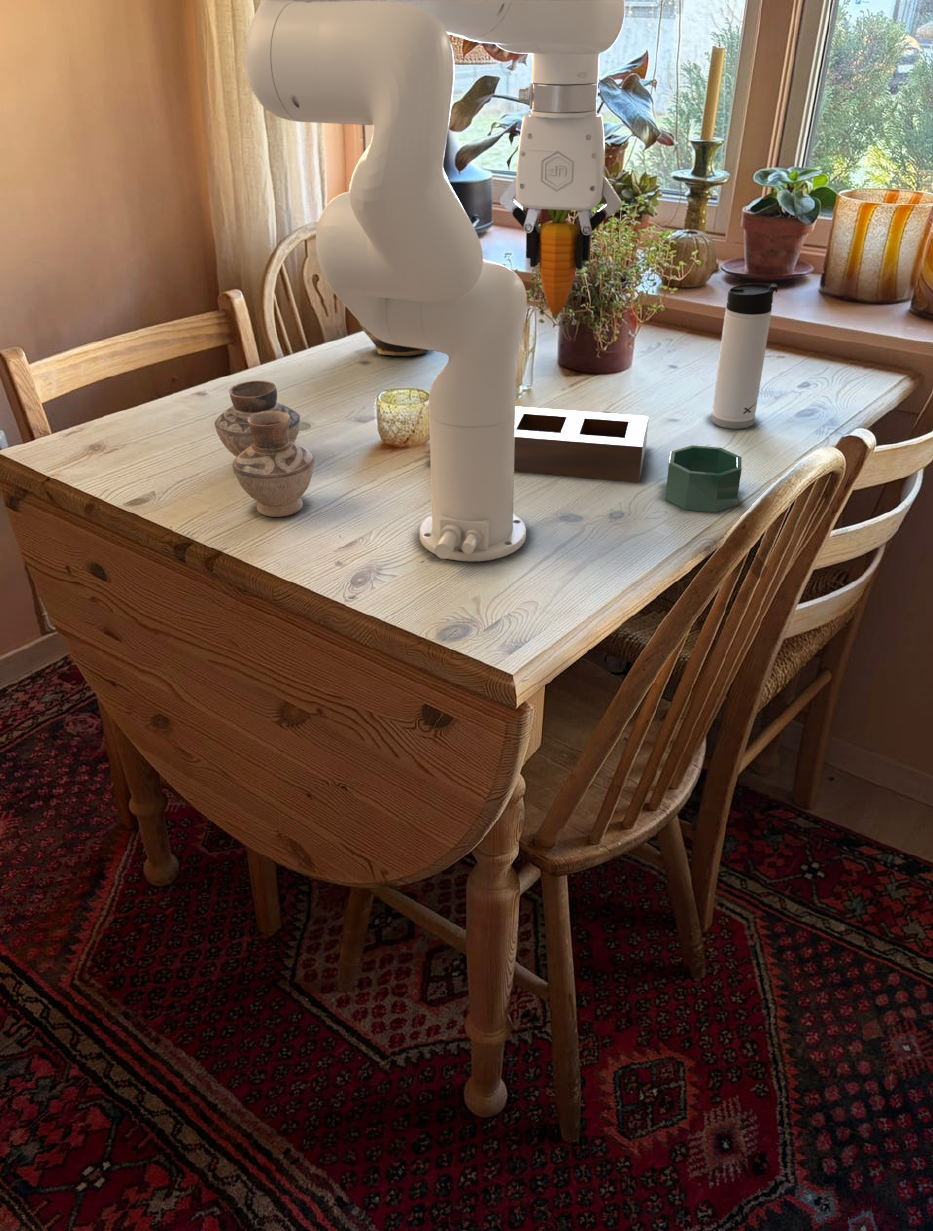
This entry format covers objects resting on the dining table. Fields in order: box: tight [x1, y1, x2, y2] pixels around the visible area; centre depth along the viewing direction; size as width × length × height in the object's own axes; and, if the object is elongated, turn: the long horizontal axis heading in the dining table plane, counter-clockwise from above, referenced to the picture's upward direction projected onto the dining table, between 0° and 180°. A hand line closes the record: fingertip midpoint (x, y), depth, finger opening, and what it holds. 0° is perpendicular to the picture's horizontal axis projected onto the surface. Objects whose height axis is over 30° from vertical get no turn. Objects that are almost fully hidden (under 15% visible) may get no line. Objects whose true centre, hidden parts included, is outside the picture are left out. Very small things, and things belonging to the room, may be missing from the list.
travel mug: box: [710, 282, 779, 430], centre depth 142 cm, size 6×7×20 cm
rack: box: [514, 406, 650, 483], centre depth 135 cm, size 11×28×5 cm, turn 77°
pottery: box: [214, 380, 315, 518], centre depth 127 cm, size 11×25×12 cm, turn 19°
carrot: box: [538, 209, 580, 317], centre depth 122 cm, size 5×5×15 cm
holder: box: [664, 444, 743, 513], centre depth 125 cm, size 9×9×5 cm
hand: (557, 264), depth 122 cm, fingers closed on carrot, 5 cm apart
